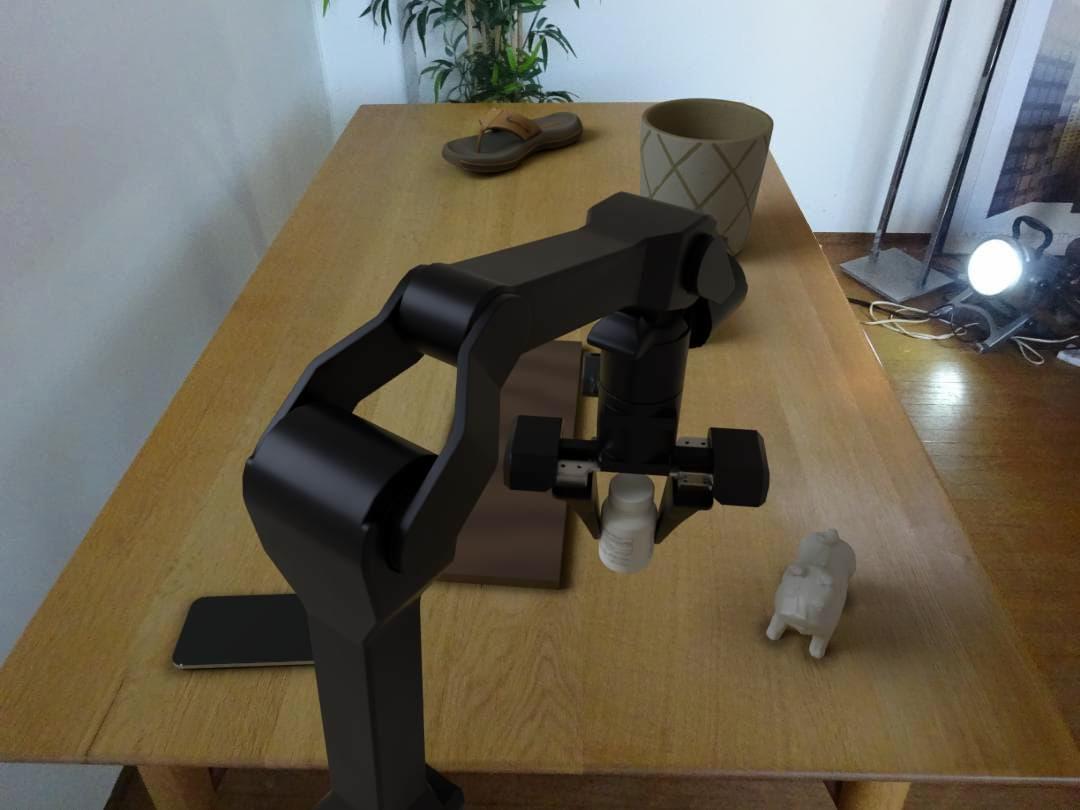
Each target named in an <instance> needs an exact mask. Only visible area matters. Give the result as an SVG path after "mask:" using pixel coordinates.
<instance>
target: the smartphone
mask: <svg viewBox="0 0 1080 810" xmlns="http://www.w3.org/2000/svg"><path fill="white" fill-rule="evenodd" d="M171 660H172V663H173V664H174V666H175V667H176V668H178V669H182V670H186V669H188V670H189V669H211V668H212V669H213V668H241V667H243V668H245V667H268V666H270V667H271V666H272V667H273V666H291V665H292V666H295V665H296V666H297V665H314V660H313V653H312V646H311V639H310V632H309V625H308V618H307V612H306V609H305V607H304V605H303V603H302V601H301V600H300V599H299V597H298V596H297V594H296V593H272V594H271V593H270V594H269V593H268V594H241V595H240V594H238V595H214V596H213V595H212V596H211V595H209V596H207V595H206V596H201V597H199V598H196V599H195V600H193V602H192V603H191V604H190V606H189V609H188V613H187V615H186V618H185V620H184V622H183V626H182V628H181V631H180V633H179V636H178V639H177V641H176V644H175V647H174V649H173V653H172V656H171Z"/></svg>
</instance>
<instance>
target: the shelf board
mask: <svg viewBox="0 0 1080 810" xmlns="http://www.w3.org/2000/svg"><path fill="white" fill-rule="evenodd" d="M582 352H583V341H579V340H559V339H555V340H553V341H550V342H548V343H546V344H544V345H542V346H540V347H537V348H535V349H533V350H531V351H529V352H526V353H524V354H522V355H521V356H520V358H519V359H518V361H517V363H516V365H515V366H514V368H513V370H512V371H511V373H510V375H509V377H508V378H507V380H506V382H505V383H504V385H503V387H502V388H501V392H500V426H499V460H498V464H497V467H496V470H495V472H494V473H493V475H492V477H491V479H490V480H489V482H488V484H487V486H486V487H485V489H484V491H483V493H482V494H481V496H480V498H479V500H478V501H477V503H476V505H475V507H474V508H473V510H472V512H471V514H470V515H469V517H468V519H467V521H466V522H465V524H464V526H463V528H462V529H461V531H460V533H459V535H458V536H457V543H456V551H455V557H454V561H453V562H452V564H451V565H450V566H449V567H448V568H447V569H446V570H445V571H444V572H443V573H442V574H441V575H440V576H439V577H438V578H437V579H436V580H435V581H434V582H437V581H438V582H449V583H450V582H451V583H463V584H464V583H465V584H476V585H477V584H478V585H489V586H490V585H491V586H506V587H518V588H519V587H520V588H532V589H533V588H535V589H545V590H548V589H549V590H559V589H560V582H561V581H560V580H561V570H562V560H563V548H564V539H565V528H566V518H567V506H568V504H567V502H566V501H563V500H557V499H555V498H553V496H552V488H551V489H550V490H548V491H547V492H534V491H520V490H510V489H509V488H508V487H506V486H505V485H504V482H503V460H504V453H505V448H506V443H507V439H508V434H509V429H510V425H511V422H512V421H513V420H514V419H515V418H516V417H517V416H518V415H529V416H545V417H560V418H563V419H564V428H563V435H562V437H561V438H568V439H574V436H575V435H574V434H575V424H576V413H577V406H578V405H577V403H578V396H579V395H578V393H579V384H580V373H581V363H582ZM454 415H455V412H454V413H453V416H452V420H451V423H450V426H449V430H448V434H447V437H446V440H445V444H446V443H447V441H448V439H449V438H450V436H451V434H452V433H453V430H454Z"/></svg>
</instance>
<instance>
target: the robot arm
mask: <svg viewBox="0 0 1080 810" xmlns="http://www.w3.org/2000/svg"><path fill="white" fill-rule="evenodd" d="M586 212H587V213H586V218H585V224H584V225H582V226H581V227H579V228H577V229H572V230H569V231H565V232H562V233H558V234H555V235H552V236H548V237H547V236H546V237H544V238H540V239H537V240H532V241H529V242H525V243H522V244H518V245H515V246H510V247H506V248H504V249H500V250H496V251H492V252H488V253H485V254H482V255H478V256H473V257H470V258H467V259H464V260H460V261H456V262H452V263H444V262H441V261H440V262H439V261H438V262H432V263H430V264H424V263H421V264H417V265H416V266H414V267H412V268H411V269H409V270H408V271H407V272H406V273H405V275H404V276H403V277H402V278H401V279H400V281H398V283H397V285H396V286H395V288H394V289H393V290H392V292H391V294H390V295H389V297H388V299H387V300H386V302H385V304H384V305H383V306H382V308H381V309H380V311H379V313H378V314H377V315H376V316H374V317H373V318H371V319H370V320H369V321H366V323H364V324H363V325H361V326H359V327H358V328H357V329H355V330H354V331H352V332H351V333H349V334H348V335H347V336H346V335H345V337H343V338H342V339H340V340H339V341H337V342H336V343H334V344H333V345H332V346H330V347H329V348H327V349H326V350H324V351H323V352H321V353H320V354H318V355H317V356H315V357H314V358H313V359H312V360H311V361H310V362H309V363H308V364H307V366H306V367H305V368H304V370H303V371H302V373H301V375H300V376H299V378H298V379H297V381H296V382H295V384H294V385H293V387H292V389H291V390H290V392H289V393H288V395H287V396H286V398H285V399H284V401H283V402H282V404H281V405H280V407H279V408H278V410H277V411H276V413H275V414H274V416H273V417H272V419H271V420H270V422H269V423H268V425H267V427H266V428H265V429H264V430H263V432H262V433H261V436H260V437H259V439H258V440H257V443H256V445H255V447H254V449H253V451H252V453H251V455H250V456H248V457H247V458H246V460H245V463H244V466H243V467H244V468H243V472H242V476H241V477H242V478H241V481H242V483H241V484H242V487H241V488H242V492H241V493H242V499H243V503H244V506H245V509H246V510H247V513H248V515H249V518H250V520H251V522H252V525H253V527H254V530H255V532H256V534H257V537H258V539H259V541H260V544H261V547H262V549H263V551H264V552H265V554H266V555H267V557H268V558H269V559H270V561H271V562H272V563H273V565H274V566H275V568H276V569H277V570H278V572H279V573H280V574H281V575H282V577H283V578H284V579H285V581H286V582H287V584H288V585H289V587H290V588H291V589H292V590H293V591H294V594H297V596H298V597H299V599H300V600H301V601H302V603H303V605H304V607H305V609H306V612H307V618H308V625H309V632H310V639H311V646H312V653H313V660H314V664H313V667H314V673H315V680H316V688H317V695H318V702H319V708H320V709H319V711H320V715H321V723H322V731H323V737H324V738H323V739H324V744H325V750H326V751H325V753H326V758H327V765H328V773H329V780H330V784H331V785H330V786H331V789H330V790H329V791H328V792H327V793H326V794H325V795H324V796H323V797H322V798H321V799H320V800H319V801H318V802H317V803H316V804H315V805H314V806H313V807H312V808H311V809H310V810H465V805H466V799H465V796H464V793H463V789H462V787H461V786H459V785H458V784H456V783H455V782H454V781H452V780H451V779H450V778H449V777H447V776H445V775H444V774H443V773H441V772H439V771H438V770H437V769H435V768H434V767H433V766H431V765H430V764H428V763H427V762H426V746H425V745H426V744H425V743H426V742H425V741H426V739H425V713H424V709H425V708H424V683H423V681H424V679H423V652H422V651H423V650H422V649H423V648H422V620H421V619H422V618H421V615H422V614H421V601H422V595H423V594H424V593H425V592H426V591H427V590H428V589H429V588H430V587H431V586H432V585H433V584H434V582H436V581H435V580H436V579H437V578H438V577H439V576H440V575H441V574H442V573H443V572H444V571H445V570H446V569H447V568H448V567H449V566H450V565H451V564H452V562H453V561H454V557H455V551H456V543H457V536H458V535H459V533H460V531H461V529H462V528H463V526H464V524H465V522H466V521H467V519H468V517H469V515H470V514H471V512H472V510H473V508H474V507H475V505H476V503H477V501H478V500H479V498H480V496H481V494H482V493H483V491H484V489H485V487H486V486H487V484H488V482H489V480H490V479H491V477H492V475H493V473H494V472H495V470H496V467H497V464H498V460H499V426H500V392H501V388H502V387H503V385H504V383H505V382H506V380H507V378H508V377H509V375H510V373H511V371H512V370H513V368H514V366H515V365H516V363H517V361H518V359H519V358H520V356H521V355H522V354H524V353H526V352H529V351H531V350H533V349H535V348H537V347H540V346H542V345H544V344H546V343H548V342H550V341H553V340H558V339H560V338H562V337H563V336H566V335H568V334H570V333H572V332H575V331H576V330H579V329H581V328H583V327H586V326H588V325H590V324H593V323H594V325H593V326H591V328H590V331H589V333H588V335H587V336H586V344H587V345H589V346H591V347H594V348H596V349H599V350H600V352H592V351H591V352H590V351H584V352H583V354H582V355H583V356H582V368H581V369H582V371H581V385H580V387H581V388H580V395H581V396H582V397H583V398H597V411H596V412H597V413H596V431H595V432H596V434H595V436H591V438H590V439H583V438H582V439H581V438H573V439H568V438H561V437H562V435H563V428H564V419H563V418H560V417H545V416H529V415H518V416H517V417H516V418H515V419H514V420H513V421H512V422H511V425H510V429H509V434H508V439H507V443H506V448H505V453H504V460H503V482H504V485H505V486H506V487H508V488H509V489H510V490H520V491H534V492H547V491H548V490H550V489H551V488H552V496H553V498H555V499H557V500H563V501H566V502H567V506H569V507H570V508H571V509H572V510H573V512H575V514H577V516H578V517H579V518H580V519H581V521H582V523H583V524H584V526H585V527H586V529H587V531H588V532H589V534H590V535H591V537H592V538H593V540H597V541H599V536H600V535H599V533H600V516H601V507H600V498H599V497H600V496H599V495H600V494H599V487H598V486H599V485H598V477H597V472H601V473H614V474H618V473H626V474H641V475H646V476H655V477H666V480H665V484H664V486H663V487H664V488H663V491H662V494H661V498H660V502H659V507H658V509H657V511H658V517H657V526H656V533H655V541H654V545H661V543H662V542H664V540H666V538H668V536H670V535H671V534H672V532H673V531H675V530H676V528H677V527H679V526H680V525H681V524H683V522H685V521H686V520H688V519H689V518H690V517H692V516H694V515H695V514H696V513H698V512H699V511H705V512H707V511H710V510H712V509H713V508H714V503H715V501H716V502H717V503H718V504H719V505H721V506H729V507H744V508H745V507H747V508H757V509H759V508H760V507H761V506H763V505H765V504H766V502H767V497H768V493H769V489H770V484H771V483H770V479H771V478H770V477H771V474H770V473H771V472H770V468H769V467H770V466H769V461H768V456H767V449H766V445H765V444H766V443H765V438H764V437H763V435H762V434H761V433H760V432H759V431H758V430H757V429H748V428H745V429H744V428H732V427H717V426H710V427H709V428H708V429H707V435H706V437H697V436H696V437H695V436H681V437H680V438H678V433H679V432H678V431H679V423H680V418H681V417H680V416H681V409H682V402H683V394H684V386H685V379H686V373H687V372H686V371H687V364H688V355H689V350H691V349H696V348H701V347H703V346H704V345H705V344H707V342H708V341H709V340H710V339H711V338H712V337H713V336H714V335H715V333H717V332H718V330H719V329H721V328H722V326H723V325H725V323H726V322H727V321H728V320H729V319H730V318H731V317H732V316H733V314H734V313H735V312H737V310H738V309H739V308H740V307H741V306H742V304H743V303H744V302H745V300H746V298H747V294H748V289H749V284H748V282H747V277H746V274H745V272H744V270H743V267H742V265H741V264H740V263H739V262H738V260H737V259H736V258H735V257H734V255H733V256H732V255H731V254H729V253H728V252H727V247H728V240H729V239H728V237H725V236H721V235H718V234H714V233H713V231H714V230H715V228H716V226H717V220H716V218H715V217H714V215H712V214H708V213H705V212H701V211H697V210H693V209H689V208H685V207H682V206H678V205H674V204H670V203H666V202H663V201H659V200H655V199H651V198H647V197H643V196H640V194H636V193H632V192H628V191H623V190H621V191H618V192H615V193H613V194H612V195H610V196H608V197H607V198H604V199H603V200H601V201H599V202H597V203H595V204H594V205H592V206H591V207H589V208H588V209H587V211H586ZM595 322H596V323H595ZM425 355H426V356H428V357H430V358H431V359H435V360H437V361H440V362H441V363H444V364H447V365H449V366H452V367H454V368H456V380H455V381H456V382H455V396H454V397H455V399H454V413H455V415H454V414H453V416H454V430H453V433H452V434H451V436H450V438H449V439H448V441H447V443H446V442H445V444H444V445H443V447H442V450H441V451H440V453H439V454H437V453H435V452H434V451H431V450H429V449H427V448H425V447H423V446H421V445H419V444H417V443H414V442H413V441H410V440H409V439H407V438H404V437H402V436H400V435H398V434H397V433H394V432H392V431H390V430H388V429H385V428H384V427H383V426H382V427H381V426H380V425H378V424H376V423H374V422H372V421H370V420H368V419H366V418H364V417H361V416H359V415H357V414H355V413H354V411H355V410H356V408H357V406H358V405H359V403H360V402H361V401H363V400H364V399H366V398H368V397H369V396H371V395H372V394H373V393H375V392H377V391H378V390H379V389H381V388H382V387H384V386H385V385H387V384H389V383H390V382H391V381H393V380H394V379H395V378H397V377H398V376H400V375H402V374H403V373H404V372H406V371H407V370H409V369H411V368H412V367H413V366H414V365H416V364H418V363H419V361H421V359H422V358H424V356H425ZM677 439H678V440H677ZM714 500H715V501H714Z"/></svg>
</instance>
